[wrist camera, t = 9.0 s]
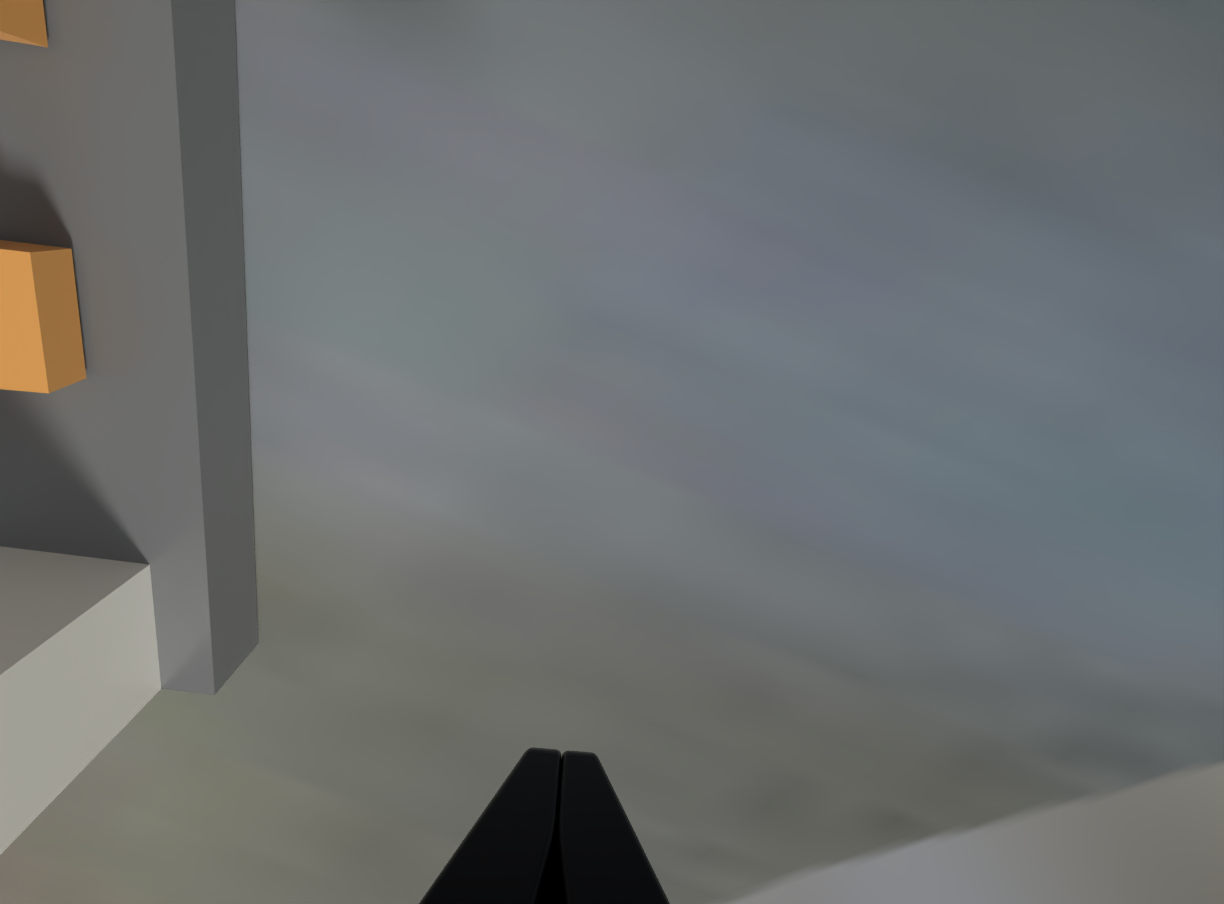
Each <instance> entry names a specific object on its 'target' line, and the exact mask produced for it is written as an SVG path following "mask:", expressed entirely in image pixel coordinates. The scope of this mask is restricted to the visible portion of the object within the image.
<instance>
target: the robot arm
mask: <svg viewBox="0 0 1224 904" xmlns="http://www.w3.org/2000/svg"><path fill="white" fill-rule="evenodd" d="M419 904H670V903H669V901H668V899H667V897H666V895H665V893H664V891H663V889H662V887H661V885H660V883H659V881H658V879H657V877H656V875H655V873H654V870H653V868H652V866H651V864H650V862H649V860H648V858H647V856H646V854H645V852H644V850H643V848H642V846H641V844H640V842H639V840H638V838H637V836H636V834H635V832H634V830H633V828H632V826H631V824H630V822H629V819H628V817H627V815H626V813H625V811H624V809H623V807H622V805H621V803H620V801H619V799H618V797H617V795H616V793H615V791H614V789H613V787H612V785H611V783H610V781H609V779H608V777H607V775H606V773H605V771H604V769H603V766H602V764H601V762H600V760H599V759H598V757H597V756H596V755H595V754H594V753H591V752H579V751H565V752H564V753H563V755H562V759H561V753H560V751H558V750H556V749H544V748H530V749H528V750H527V751H526V752H525V753H524V754H523V756H522V757H521V759H520V760H519V762H518V763H517V764H516V766H515V767H514V769H513V770H512V772H511V773H510V774H509V776H508V777H507V779H506V780H505V782H504V783H503V784H502V786H501V787H500V789H499V790H498V792H497V793H496V794H495V796H494V797H493V799H492V800H491V802H490V803H489V804H488V806H487V807H486V809H485V810H484V812H483V813H482V814H481V816H480V817H479V819H478V820H477V822H476V823H475V824H474V826H473V827H472V829H471V830H470V832H469V833H468V834H467V836H466V837H465V839H464V840H463V842H462V843H461V844H460V846H459V847H458V849H457V850H456V852H455V853H454V854H453V856H452V857H451V859H450V860H449V862H448V863H447V864H446V866H445V867H444V869H443V870H442V872H441V873H440V874H439V876H438V877H437V879H436V880H435V882H434V883H433V884H432V886H431V887H430V889H429V890H428V892H427V893H426V894H425V896H424V897H423V899H422V900H421V902H420V903H419Z"/></svg>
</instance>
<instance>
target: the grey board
mask: <svg viewBox="0 0 1224 904" xmlns="http://www.w3.org/2000/svg"><path fill="white" fill-rule="evenodd" d="M43 7H44V16H45V24H46V33H47V42H48V47H42V46H36V45H30V44H24V43H18V42H12V41H6V40H0V240H6V241H14V242H22V243H30V244H39V245H47V246H55V247H63V248H71V249H72V258H73V266H74V275H75V284H76V292H77V301H78V310H79V318H80V327H81V336H82V344H83V353H84V361H85V370H86V379H83V380H81V381H79V382H76V383H74V384H71V385H69V386H66V387H64V388H61V389H59V390H56V391H54V392H51V393H38V392H27V391H16V390H4V389H0V546H2V547H10V548H18V549H27V550H35V551H43V552H51V553H59V554H68V555H76V556H84V557H92V558H100V559H109V560H117V561H125V562H133V563H142V564H150V573H151V584H152V595H153V605H154V616H155V627H156V637H157V648H158V659H159V670H160V680H161V689H169V690H177V691H186V692H195V693H204V694H212V695H215V694H216V693H217V691H218V690H219V689H220V688H221V687H222V686H223V684H224V683H225V682H226V681H227V680H228V678H229V677H230V676H231V675H232V674H233V673H234V671H235V670H236V669H237V668H238V667H239V665H240V664H241V663H242V662H243V661H244V659H245V658H246V657H247V656H248V655H249V654H250V652H251V651H252V650H253V649H254V648H255V646H256V645H257V644H258V620H257V593H256V566H255V539H254V511H253V484H252V457H251V429H250V402H249V375H248V348H247V320H246V293H245V266H244V238H243V211H242V184H241V156H240V129H239V102H238V75H237V47H236V20H235V0H43Z"/></svg>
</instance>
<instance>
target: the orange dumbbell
mask: <svg viewBox="0 0 1224 904" xmlns="http://www.w3.org/2000/svg"><path fill="white" fill-rule="evenodd" d="M0 40H6V41H12V42H18V43H24V44H30V45H36V46H42V47H48V42H47V33H46V24H45V16H44V7H43V0H0ZM83 379H86V370H85V361H84V353H83V344H82V336H81V327H80V318H79V310H78V301H77V292H76V284H75V275H74V266H73V258H72V249H71V248H63V247H55V246H47V245H39V244H30V243H22V242H14V241H6V240H0V389H4V390H16V391H27V392H38V393H51V392H54V391H56V390H59V389H61V388H64V387H66V386H69V385H71V384H74V383H76V382H79V381H81V380H83Z"/></svg>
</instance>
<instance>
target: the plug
mask: <svg viewBox="0 0 1224 904" xmlns="http://www.w3.org/2000/svg"><path fill="white" fill-rule="evenodd" d="M160 689H161V680H160V670H159V659H158V648H157V637H156V627H155V616H154V605H153V595H152V584H151V573H150V564H142V563H133V562H125V561H117V560H109V559H100V558H92V557H84V556H76V555H68V554H59V553H51V552H43V551H35V550H27V549H18V548H10V547H2V546H0V855H1V854H2V852H3V851H4V850H5V849H6V848H7V847H8V846H9V845H10V844H11V843H12V842H13V841H14V840H15V839H16V838H17V837H18V836H19V835H20V834H21V833H22V832H23V831H24V830H25V829H26V828H27V827H28V826H29V825H30V824H31V823H32V822H33V820H34V819H35V818H36V817H37V816H38V815H39V814H40V813H41V812H42V811H43V810H44V809H45V808H46V807H47V806H48V805H49V804H50V803H51V802H52V801H53V800H54V799H55V798H56V797H57V796H58V795H59V794H60V793H61V792H62V791H63V790H64V789H65V787H66V786H67V785H68V784H69V783H70V782H71V781H72V780H73V779H74V778H75V777H76V776H77V775H78V774H79V773H80V772H81V771H82V770H83V769H84V768H85V767H86V766H87V765H88V764H89V763H90V762H91V761H92V760H93V759H94V758H95V757H96V755H97V754H98V753H99V752H100V751H101V750H102V749H103V748H104V747H105V746H106V745H107V744H108V743H109V742H110V741H111V740H112V739H113V738H114V737H115V736H116V735H117V734H118V733H119V732H120V731H121V730H122V729H123V728H124V727H125V726H126V725H127V724H128V722H129V721H130V720H131V719H132V718H133V717H134V716H135V715H136V714H137V713H138V712H139V711H140V710H141V709H142V708H143V707H144V706H145V705H146V704H147V703H148V702H149V701H150V700H151V699H152V698H153V697H154V696H155V695H156V694H157V693H158V692H159V690H160Z"/></svg>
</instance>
